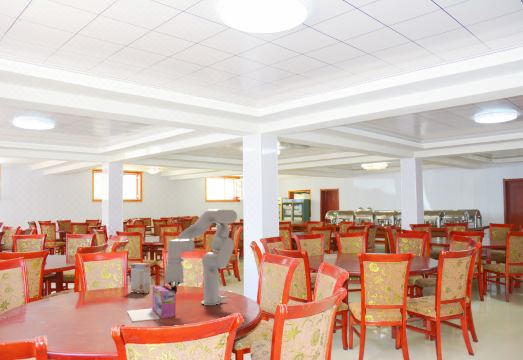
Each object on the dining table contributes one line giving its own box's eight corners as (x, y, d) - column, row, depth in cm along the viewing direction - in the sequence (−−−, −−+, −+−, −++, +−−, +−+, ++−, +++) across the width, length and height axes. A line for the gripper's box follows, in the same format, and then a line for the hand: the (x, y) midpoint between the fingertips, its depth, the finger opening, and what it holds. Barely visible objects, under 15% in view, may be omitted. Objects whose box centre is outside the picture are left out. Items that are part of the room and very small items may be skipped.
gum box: (151, 309, 246) (151, 286, 247) (164, 308, 250) (164, 285, 251) (161, 318, 225) (161, 292, 226) (176, 316, 229) (175, 291, 230)
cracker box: (150, 292, 300) (150, 263, 301) (143, 294, 295) (144, 264, 296) (136, 291, 307) (137, 262, 309) (130, 292, 302) (130, 263, 304)
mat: (151, 309, 247) (151, 308, 247) (159, 319, 224) (159, 318, 224) (126, 311, 242) (126, 310, 242) (132, 322, 218) (132, 321, 218)
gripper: (185, 260, 249) (185, 291, 247) (160, 261, 242) (159, 293, 241) (188, 261, 242) (188, 293, 240) (162, 262, 236) (162, 295, 234)
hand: (174, 293), depth 241 cm, fingers closed
